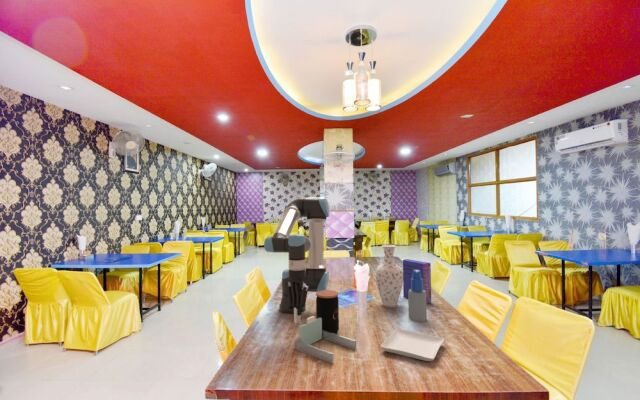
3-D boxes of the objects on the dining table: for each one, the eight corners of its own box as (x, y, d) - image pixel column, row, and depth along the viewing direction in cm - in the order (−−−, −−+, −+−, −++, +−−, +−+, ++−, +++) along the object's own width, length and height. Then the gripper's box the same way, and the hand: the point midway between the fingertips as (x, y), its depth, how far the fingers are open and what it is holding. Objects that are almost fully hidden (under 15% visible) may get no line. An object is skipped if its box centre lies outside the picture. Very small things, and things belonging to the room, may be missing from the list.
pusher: (299, 347, 133) (299, 321, 133) (319, 337, 143) (319, 313, 143) (301, 348, 132) (301, 321, 132) (322, 338, 142) (321, 313, 142)
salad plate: (434, 367, 117) (433, 358, 117) (379, 353, 128) (379, 345, 128) (445, 345, 135) (445, 337, 135) (396, 335, 146) (396, 327, 146)
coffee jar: (337, 336, 145) (336, 296, 145) (314, 335, 147) (313, 295, 147) (340, 327, 155) (339, 290, 155) (318, 326, 157) (318, 289, 157)
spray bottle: (409, 315, 171) (408, 268, 172) (426, 316, 169) (425, 269, 169) (408, 320, 163) (407, 271, 163) (426, 322, 160) (425, 272, 160)
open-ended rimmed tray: (294, 348, 133) (294, 340, 133) (319, 336, 145) (319, 328, 145) (332, 363, 120) (332, 354, 120) (356, 349, 132) (356, 340, 132)
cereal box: (431, 302, 193) (430, 262, 193) (426, 304, 190) (425, 263, 190) (408, 296, 207) (407, 258, 207) (403, 297, 204) (402, 259, 205)
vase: (373, 307, 184) (372, 247, 185) (378, 300, 199) (378, 243, 200) (401, 311, 178) (400, 248, 178) (405, 302, 193) (404, 244, 193)
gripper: (280, 268, 145) (281, 321, 144) (301, 272, 136) (302, 327, 135) (292, 266, 150) (293, 316, 150) (313, 269, 142) (313, 323, 141)
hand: (297, 322), depth 143 cm, fingers closed
